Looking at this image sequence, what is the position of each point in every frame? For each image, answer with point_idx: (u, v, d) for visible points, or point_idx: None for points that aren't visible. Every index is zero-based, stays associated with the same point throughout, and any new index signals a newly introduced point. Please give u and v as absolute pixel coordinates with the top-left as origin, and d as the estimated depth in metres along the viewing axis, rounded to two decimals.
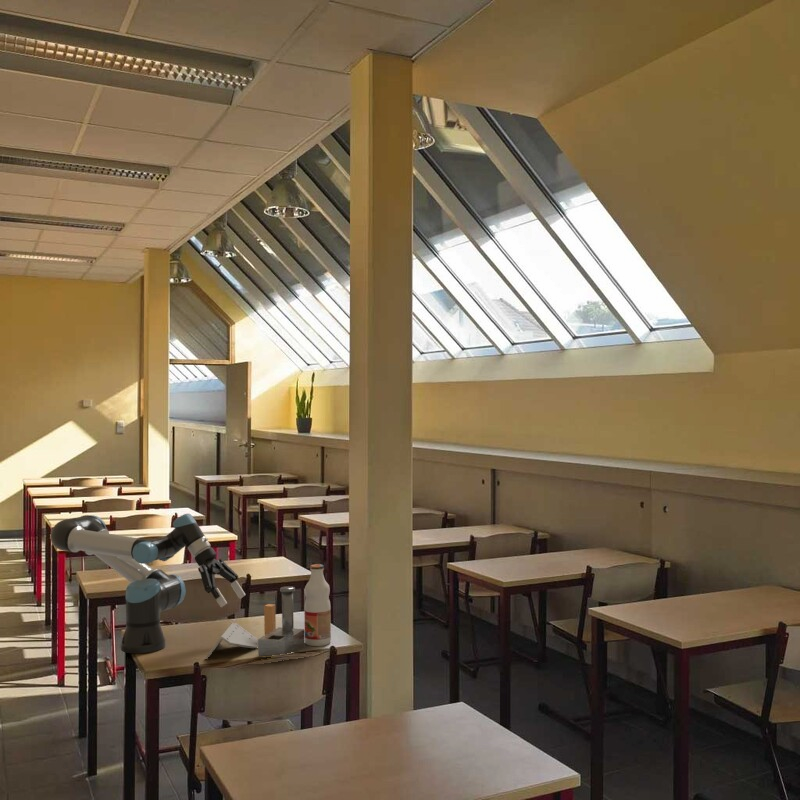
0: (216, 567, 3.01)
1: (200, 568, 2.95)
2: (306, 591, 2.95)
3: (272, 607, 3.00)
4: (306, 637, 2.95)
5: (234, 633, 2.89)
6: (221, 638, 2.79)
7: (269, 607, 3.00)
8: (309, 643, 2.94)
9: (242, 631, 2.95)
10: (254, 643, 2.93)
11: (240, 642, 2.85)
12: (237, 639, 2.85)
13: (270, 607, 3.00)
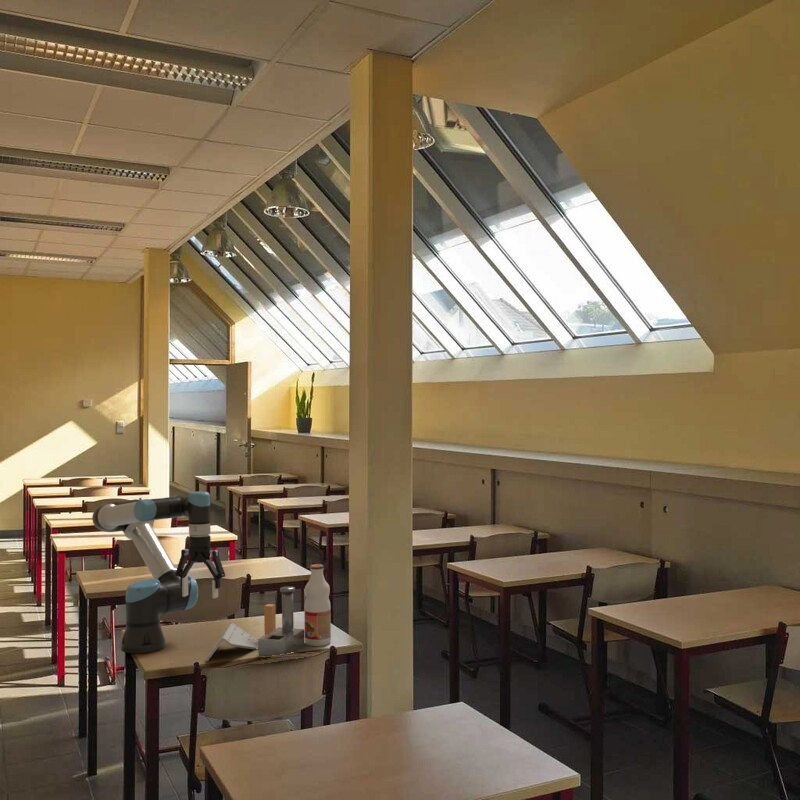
0: (199, 557, 2.92)
1: None
2: (306, 591, 2.95)
3: (272, 607, 3.00)
4: (306, 637, 2.95)
5: (234, 634, 2.87)
6: (222, 639, 2.77)
7: (269, 607, 3.00)
8: (309, 643, 2.94)
9: (241, 632, 2.94)
10: (253, 644, 2.92)
11: (241, 643, 2.84)
12: (237, 640, 2.84)
13: (270, 607, 3.00)
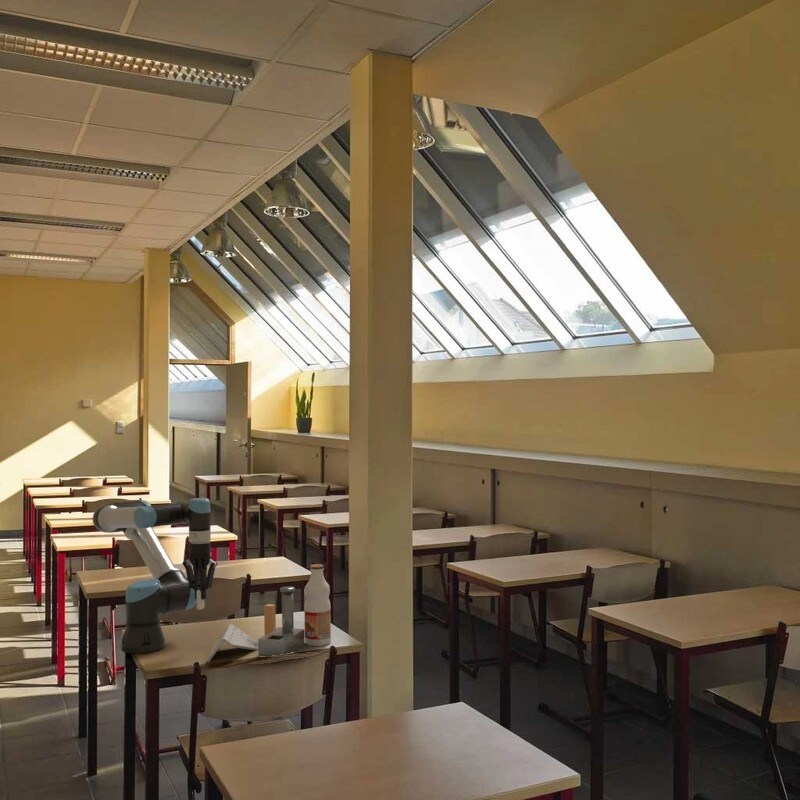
0: None
1: None
2: (306, 591, 2.95)
3: (272, 607, 3.00)
4: (306, 637, 2.95)
5: (234, 635, 2.86)
6: (223, 640, 2.76)
7: (269, 607, 3.00)
8: (309, 643, 2.94)
9: (240, 632, 2.93)
10: (253, 644, 2.91)
11: (241, 644, 2.83)
12: (237, 641, 2.83)
13: (270, 607, 3.00)
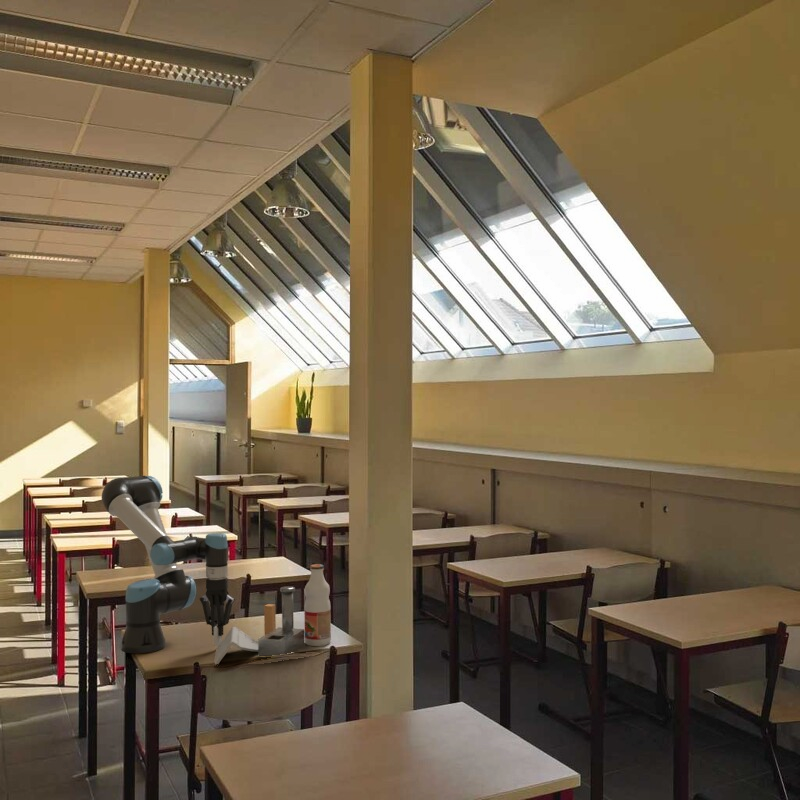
0: None
1: None
2: (306, 591, 2.95)
3: (272, 607, 3.00)
4: (306, 637, 2.95)
5: (239, 637, 2.83)
6: (232, 643, 2.73)
7: (269, 607, 3.00)
8: (309, 643, 2.94)
9: (244, 635, 2.90)
10: None
11: (248, 646, 2.80)
12: (244, 643, 2.80)
13: (270, 607, 3.00)
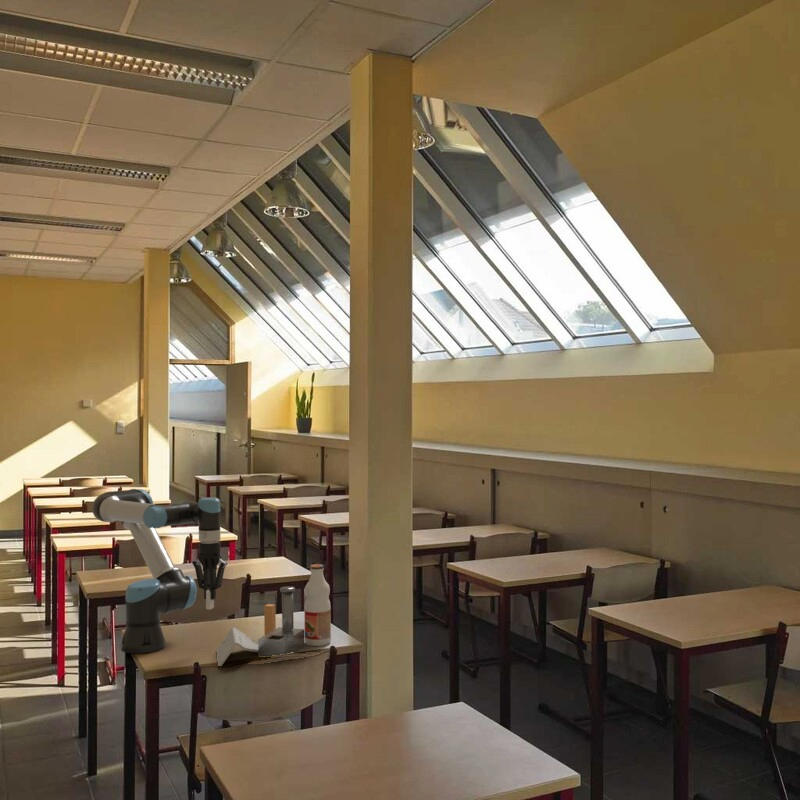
0: None
1: None
2: (306, 591, 2.95)
3: (272, 607, 3.00)
4: (306, 637, 2.95)
5: (241, 638, 2.82)
6: (236, 644, 2.72)
7: (269, 607, 3.00)
8: (309, 643, 2.94)
9: (244, 636, 2.89)
10: None
11: (250, 647, 2.79)
12: (247, 644, 2.79)
13: (270, 607, 3.00)
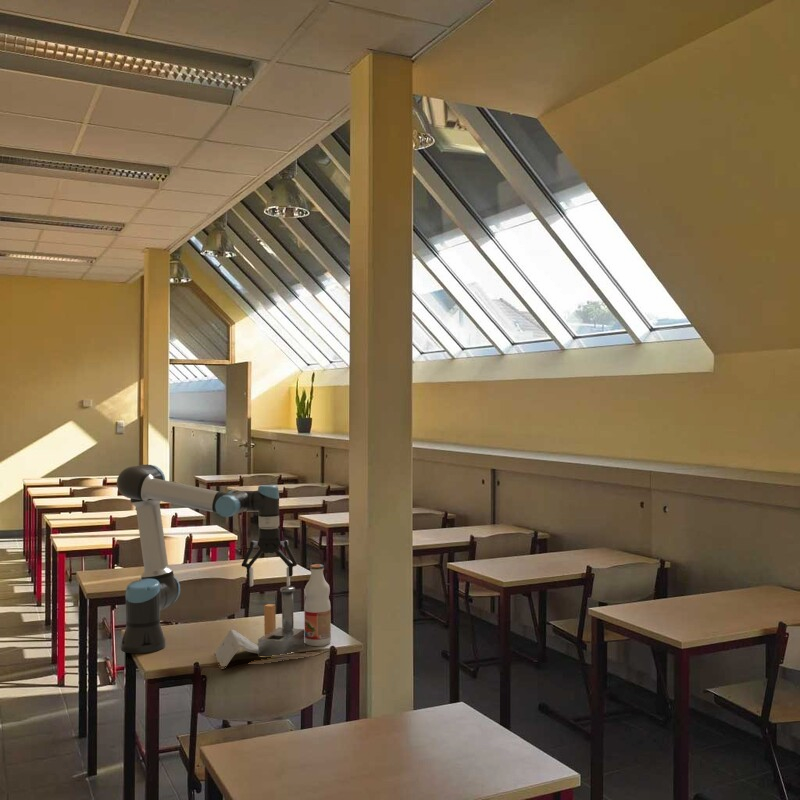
0: (270, 548, 3.01)
1: None
2: (306, 591, 2.95)
3: (272, 607, 3.00)
4: (306, 637, 2.95)
5: (242, 640, 2.80)
6: (239, 645, 2.70)
7: (269, 607, 3.00)
8: (309, 643, 2.94)
9: (243, 637, 2.87)
10: None
11: (252, 648, 2.77)
12: (248, 645, 2.77)
13: (270, 607, 3.00)
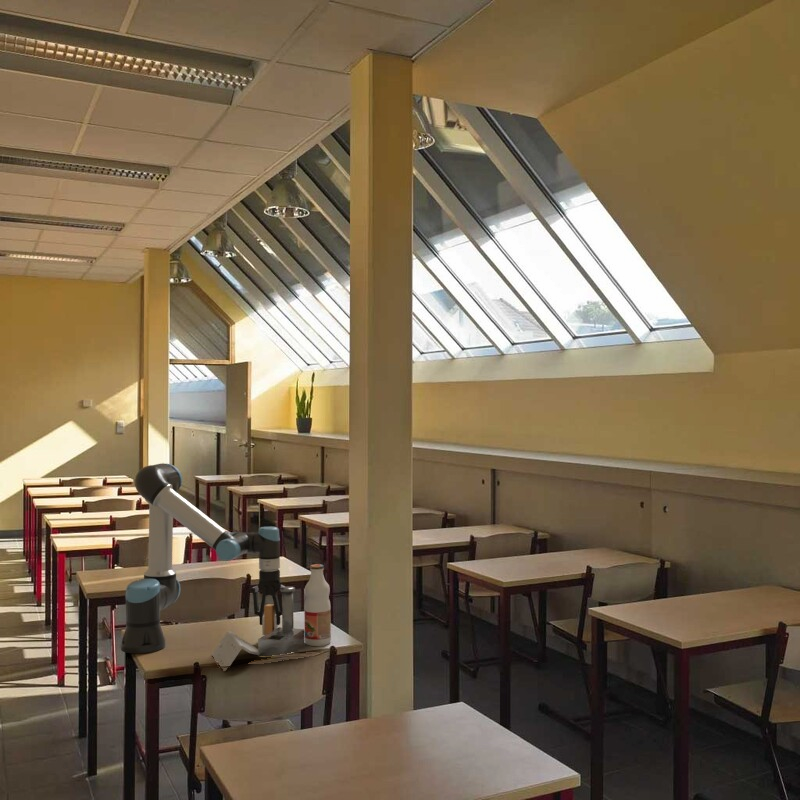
0: (270, 590, 3.00)
1: None
2: (306, 591, 2.95)
3: (272, 607, 3.00)
4: (306, 637, 2.95)
5: (241, 641, 2.78)
6: (241, 647, 2.68)
7: (269, 607, 3.00)
8: (309, 643, 2.94)
9: (241, 639, 2.85)
10: (257, 650, 2.84)
11: (252, 650, 2.76)
12: (248, 647, 2.76)
13: (270, 607, 3.00)
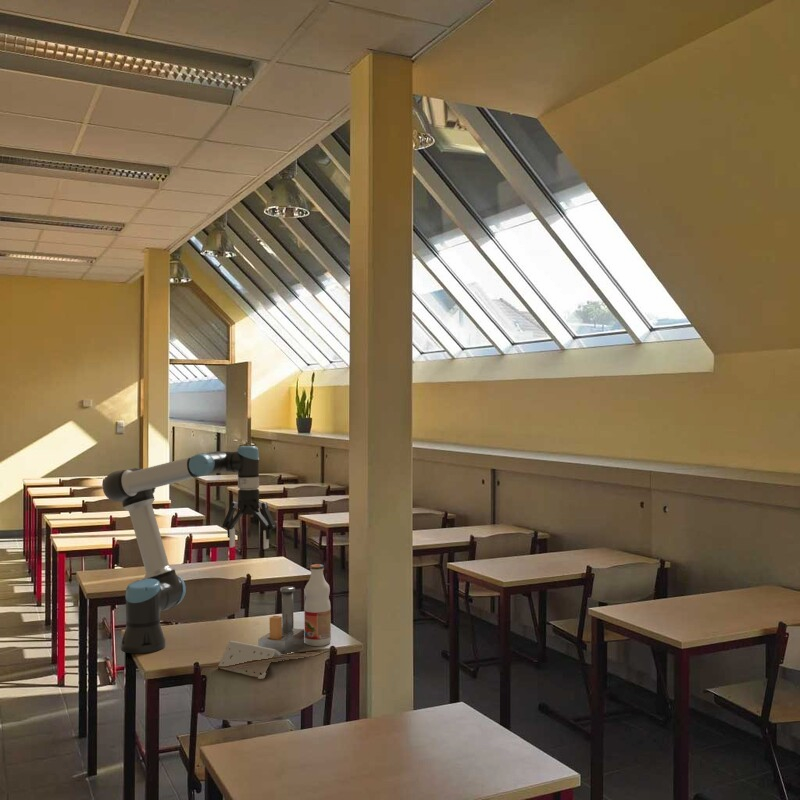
0: (248, 510, 2.96)
1: None
2: (306, 591, 2.95)
3: (277, 619, 2.82)
4: (306, 637, 2.95)
5: None
6: (275, 651, 2.63)
7: (274, 619, 2.82)
8: (309, 643, 2.94)
9: None
10: None
11: None
12: None
13: (275, 619, 2.82)
